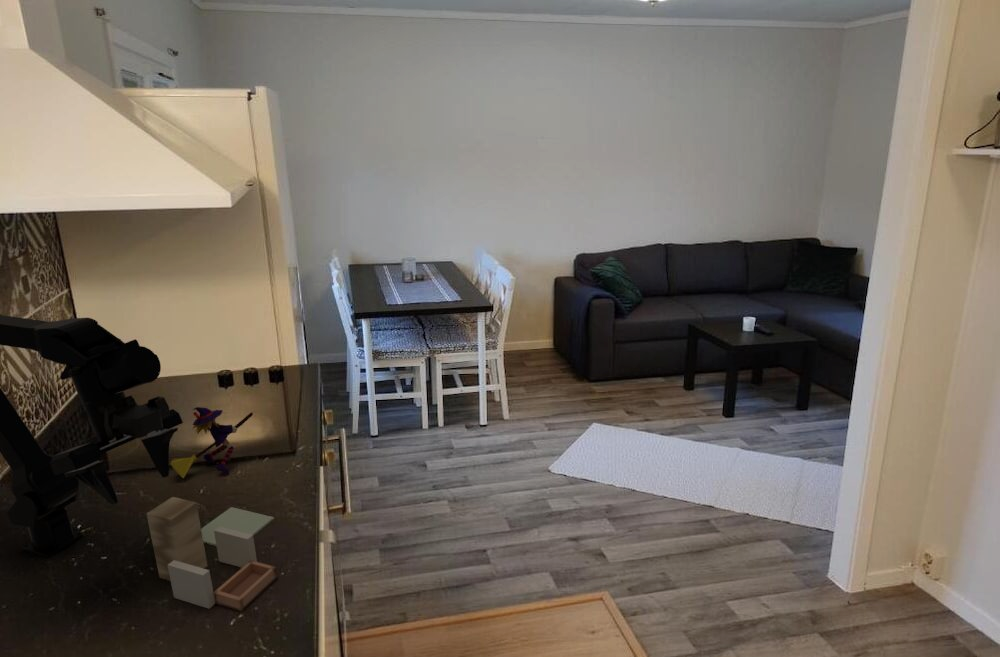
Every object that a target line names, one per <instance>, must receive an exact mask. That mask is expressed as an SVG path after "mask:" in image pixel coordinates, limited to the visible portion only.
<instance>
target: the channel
mask: <svg viewBox="0 0 1000 657" xmlns="http://www.w3.org/2000/svg"><path fill="white" fill-rule="evenodd" d="M214 534H215V540H216V546H215V547H216V551H217V558H218V562H220V563H223V564H228V565H231V566H235V567H238V568H240V569H241V568H243V567H244V566H245V565H246V564H247V563H248V562H250V561H251V560H252V561H255V562H258V560H257V553H256V552H257V551H256V547H255V541H254V536H253V535H251V534H247V533H243V532H239V531H235V530H232V529H228V528H224V527H220V526H219V527H218V528H216V529H215V530H214ZM168 570H169V575H170V580H171V581H170V585H171V588H172V595H173V598H174V599H177V600H180V601H183V602H186V603H189V604H192V605H196V606H199V607H202V608H204V609H205V608H206V609H211V608H212V607H213V606H215V599H214V593H213V592H214V588H213V582H212V577H211V572H210V569H206V568H204V569H203V568H200V567H196V566H193V565H189V564H186V563H182V562H179V561H175V560H173V561H172V562H171V563H169V564H168Z"/></svg>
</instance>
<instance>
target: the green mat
mask: <svg viewBox="0 0 1000 657" xmlns="http://www.w3.org/2000/svg"><path fill="white" fill-rule="evenodd" d="M274 520H275V517H274V516H269V515H265V514H261V513H257V512H254V511H250V510H249V511H248V510H245V509H241V508H236V507H233V506H231V507H229V508H228V509H227V510H225V511H224V512H222V513H221V514H220V515H218V516H217V517H215V518H214V519H213V520H211V521H210V522H208V523H207V524H206V525H204V526H203V527H201V532H202V537H203V543H204V544H206V543H207V544H206V545H210V546H214V547H217V546H216V540H215V534H214V530H215V529H216V528H218V527H219V526H220V527H224V528H228V529H232V530H235V531H239V532H243V533H247V534H251V535H253V537H255V536H256V535H257V534H258V533H259V532H260V531H261V530H263V529H264V528H265V527H266V526H267V525H269V524H270V523H271V522H272V521H274Z"/></svg>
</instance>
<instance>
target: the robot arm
mask: <svg viewBox="0 0 1000 657" xmlns="http://www.w3.org/2000/svg"><path fill="white" fill-rule="evenodd" d="M0 346H6V347H12V348H19V349H25V350H30V351H31V350H32V351H35V352H37V353H38V354H39V355H40V357H41V358H42V359H45V360H48V361H50V362H52V363H56V364H59V365H65V367H64V369H63V370H62V371H61V373H60V376H59V378H60V380H61V381H65V380H67V379H71V380H72V382H73V385H74V387H75V388H74V389H75V390H76V393H77V395H78V397H79V400H80V402H81V405H82V407H83V409H84V411H82V412H80V417H81V419H83V420H84V419H88V421H89V423H90V426H91V428H92V431H93V433H94V435H93V436H91V437H90V440H91V442H88V443H85V444H81V445H78V446H74V447H71V448H69V449H67V450H64V451H62V452H59V453H57V454H55V455H52V456H51V455H49V454H47V453H46V452H45V451H44V450H43V448H42V447H41V445H40V444H39V443H38V441H37V439H36V438H35V436H34V434H32V432H31V431H30V429H29V428H28V426H27V425H26V423H25V422H24V420H23V419H22V417H21V416H20V414H19V412H18V411H17V410H16V407H14V405H13V404H12V403H11V401H10V400H9V398H8V397H7V395H6V394H5V392H4V390H3V389H2V387H0V454H1V456H2V457H3V459H4V460H5V461H6V463H7V464H8V466H9V468H10V470H11V471H12V474H11V475H12V477H11V491H12V494H13V495H14V497H15V499H16V500H15V502H14V503H13V504H12V506H11V507H10V508H9V510H8V511H7V513H6V517H7V518H8V519H9V521H10V523H11V525H15V526H21V527H26V528H27V530H28V533H29V536H30V540H31V541H30V542H27V543H26V544H24V545H23V546H22V549H23V550H24V551H27V552H30V553H33V554H37V555H39V556H42V557H50V556H52V555H53V554H55V553H57V552H59V551H60V550H62V549H63V548H65V547H67V546H69V545H70V544H72V543H73V542H75V541H77V540H78V539H80V538H82V537H83V532H80V531H77V530H73V528H72V523H71V520H70V517H69V514H68V510H67V508H66V507H68V506H70V505H71V504H74V503H76V502H77V501H78V494H79V486H80V481H81V482H82V483H83V484H85V485H87V486H88V487H90V488H91V489H92V490H93V491H95V492H96V493H97V494H99V496H100V497H101V498H103V499H104V500H106V501H107V502H108V503H109V504H110V505H116V504H118V502H119V500H118V497H117V493H116V491H115V489H114V487H113V485H112V482H111V479H110V478H109V475H108V473H107V471H106V468H107V459H105V460H100V458H101V456H102V454H104V453H107V452H109V451H111V450H113V449H117V448H118V447H121V446H123V445H125V444H127V443H130V442H132V441H134V440H136V439H140V438H143V439H141V442H142V444H143V446H144V448H145V450H146V451H147V453H148V456H149V458H150V459H151V461H152V463H153V464H154V466H155V468H156V470H157V472H158V473H159V474H160V475H161V476H160V477H162V478H167V477H169V475H170V472H169V471H170V468H169V467H170V464H169V463H170V461H169V460H170V459H169V458H170V457H169V456H170V452H169V451H170V442H171V440H172V437H173V435H174V434H175V433H176V432H178V430H179V427H177V426H179V425H182V424H183V423H184V421H183V419H182V416H181V413H180V412H178V411H177V410H175V409H174V408H172V409H171V408H170V407H169V404H168V403H167V401H166V399H165V397H164V396H155V397H152V398H150V399H148V400H147V403H146V402H145V403H144V404H138V403H137V402H136V400H135V398H134V397H133V395H129V396H127V395H126V394H125V391H128V390H132V389H135V388H138V387H140V386H143V385H146V384H149V383H152V382H154V381H156V380H157V379H158V378H159V376H160V373H161V367H162V366H161V365H162V364H161V360H160V359H159V358H160V357H158V355H157V354H155V352H154V351H153V350H151V349H150V348H148V347H146V346H142V345H141V346H140V344H139V341H138V340H137V339H132V340H130V341H127V342H124V341H123V340H122V339H120V338H118V336H116V335H114V334H113V333H111V332H110V331H109V330H107V329H106V328H105V327H103V326H102V325H100V324H99V322H98V321H97V320H96V319H94V318H91V317H76V318H67V319H61V320H55V321H53V320H52V321H46V320H39V319H33V318H26V317H25V318H24V317H18V316H10V315H5V314H4V315H3V314H0ZM144 437H145V438H144Z"/></svg>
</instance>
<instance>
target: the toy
mask: <svg viewBox="0 0 1000 657" xmlns="http://www.w3.org/2000/svg"><path fill="white" fill-rule="evenodd" d="M194 410H196V411H194ZM192 411H194V412H193V415H194V417H195V418H196V419H195V420H194V421H193V423H192V429H195V431H194V432H195V433H196V434H197V435H198V434H200V432H201V431H202V430H203V432H204V434H205V435H207V433H209V432H210V434H211V437H212V438H213V440H214V442H213V443H212V444H211V445H209V446H208V447H206V448H204V449H202V451H200V452H199V453H197V454H195V453H193V454H192V456H190V457H182V458H181V457H180V458H179V457H177V458H172V459H171V461H170V465H171V467H172V469H173V470H174V472H175V473H176V474H178V475H179V476H180V477H181V478H182V479H184V478H185V477H186V475H187V474H188V471H189V469H190V468H191V467H192V465H193V464H194V463H195V462H196V461H198V460H200V458H199V457H201V456H202V455H203V456H202V457H203V459H204V460H205V461H206V462H208V464H210V463H212V464H213V463H214V462H215V460H214V457H215V456H216V455H218V454H220V453H222V452H223V451H225V450H227V451H226V453H225V455H224V457H223V459H222V461H221V463H220V464H218V465H217V467H215V470H217V471H220V472H221V473H224V474H225V473H226V475H229V472H230V470H229V468H227V467H226V466H225V464H226V463H227V462H228V460H229V458H231V455H232V453H234V450H235V448H234V447H233V445H232V444H231V443H230V441H229V440H228V439H227V438H228V436H229V435H231V434H235V433H237V431H238V428H240V427H241V426H242V425H243V424H245V422H247V421H248V420H249V419H250V418H251V417H253V415H254V412H250V413H248V414H247V415H246V416H245V417H243V419H241V420H240V421H239V422H238V423H236V424H235V425H233V424H220V423H219V422H218V423H217V422H216V418H218V417H220V416H221V415H222V413H223V411H224V410H222V409H215V410H211V409H209V408H207V407H199V406H196V407H195V408H193V409H192ZM198 413H199V414H198ZM214 446H215V447H216V448H217V449H214V450H213V451H212V452H210V453H206V452H208V451H209V450H210V449H212V448H213V447H214Z"/></svg>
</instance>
